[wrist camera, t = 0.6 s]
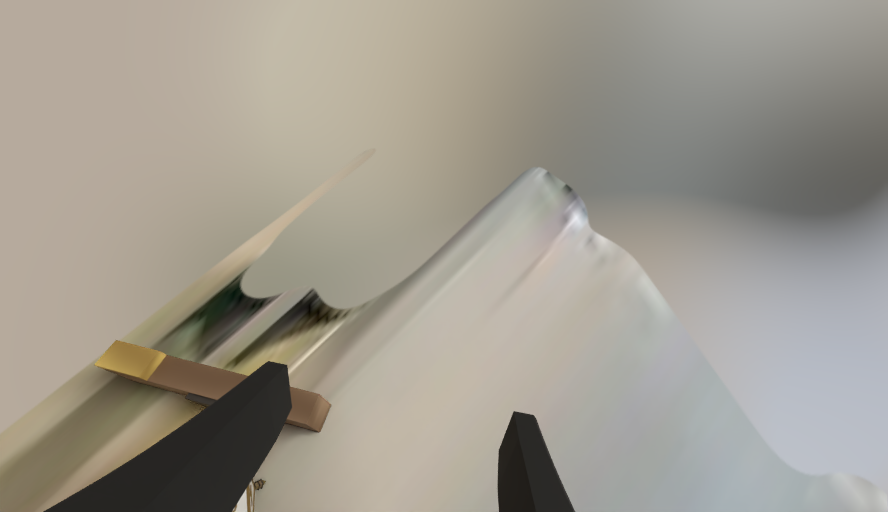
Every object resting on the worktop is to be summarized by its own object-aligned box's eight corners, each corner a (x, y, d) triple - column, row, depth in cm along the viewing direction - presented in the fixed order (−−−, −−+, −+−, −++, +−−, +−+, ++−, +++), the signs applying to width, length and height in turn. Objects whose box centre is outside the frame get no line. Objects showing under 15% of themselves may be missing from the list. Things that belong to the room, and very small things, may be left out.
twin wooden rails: (188, 750, 16) (128, 805, 13) (-66, 631, 19) (-164, 654, 16) (331, 404, 26) (315, 390, 23) (151, 358, 29) (116, 340, 26)
